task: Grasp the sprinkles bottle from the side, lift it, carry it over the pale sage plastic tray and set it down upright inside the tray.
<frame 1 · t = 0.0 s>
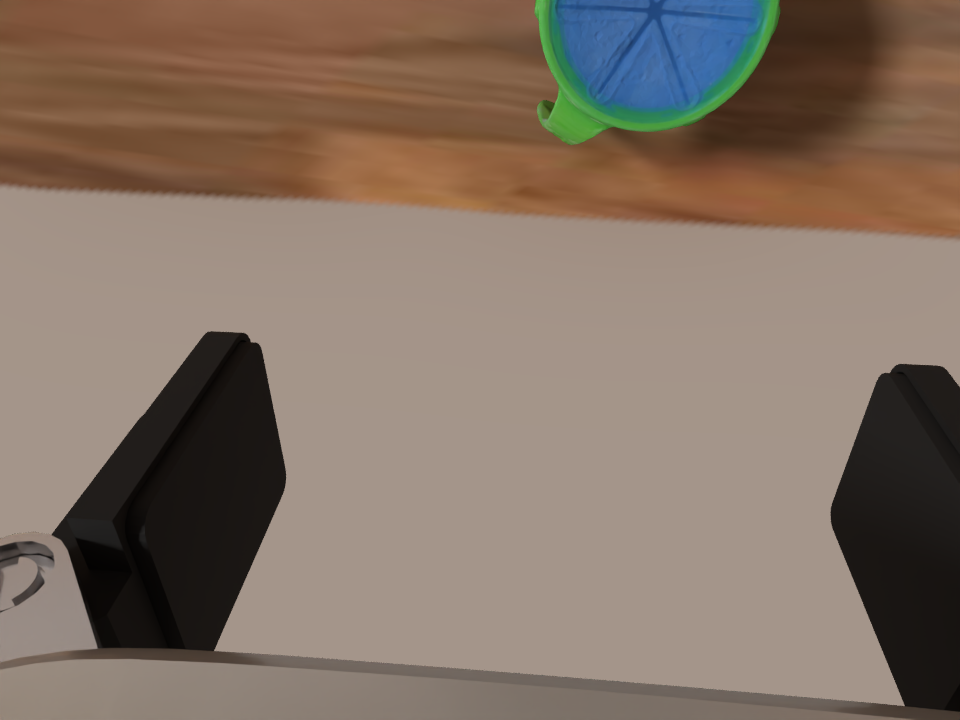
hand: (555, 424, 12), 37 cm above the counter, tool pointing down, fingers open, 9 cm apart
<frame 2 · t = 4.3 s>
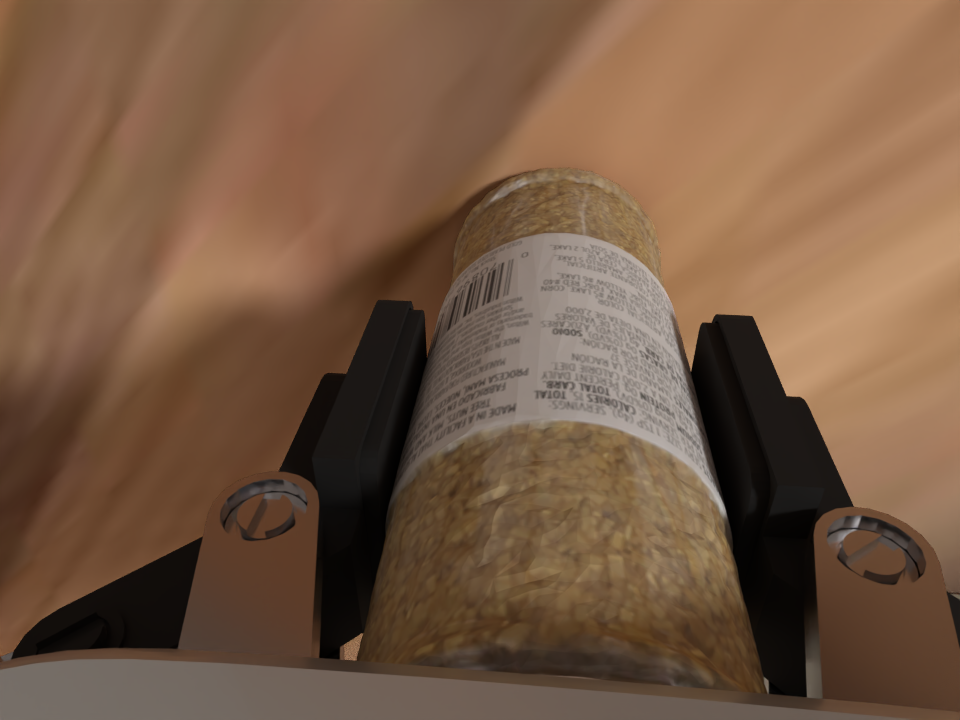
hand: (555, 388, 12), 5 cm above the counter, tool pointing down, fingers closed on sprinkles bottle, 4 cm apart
sprinkles bottle: (556, 254, 16), on the counter, touching gripper
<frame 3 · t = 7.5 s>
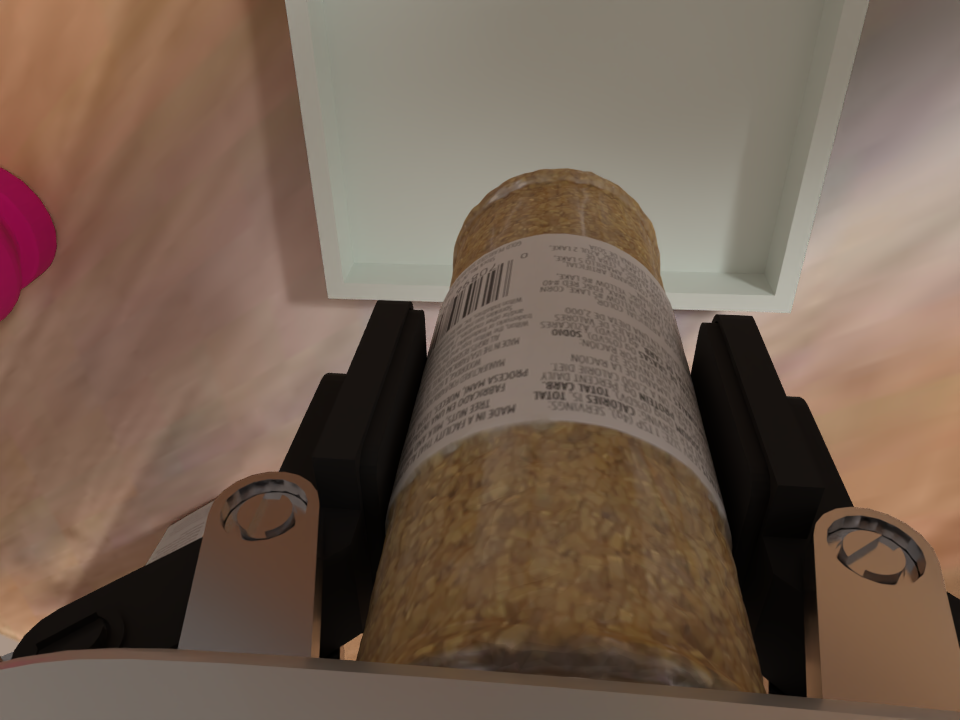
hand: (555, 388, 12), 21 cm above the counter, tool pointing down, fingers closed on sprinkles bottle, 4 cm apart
tray: (562, 98, 30), on the counter
sprinkles bottle: (556, 255, 17), point 16 cm above the counter, touching gripper
small box: (243, 543, 47), on the counter
when the fingers open (7 cm above the counter, at t = 10.6 s): sprinkles bottle drops 1 cm, resting on tray.
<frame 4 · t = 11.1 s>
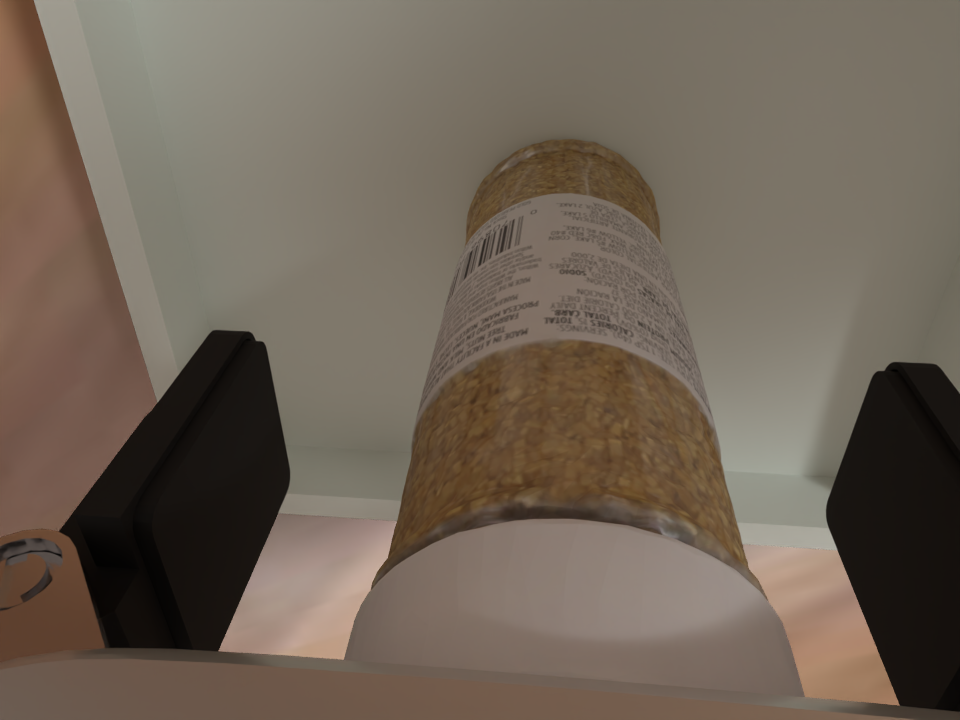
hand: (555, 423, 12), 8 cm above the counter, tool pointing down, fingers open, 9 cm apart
tray: (557, 214, 18), on the counter
sprinkles bottle: (562, 223, 18), point 1 cm above the counter, touching tray
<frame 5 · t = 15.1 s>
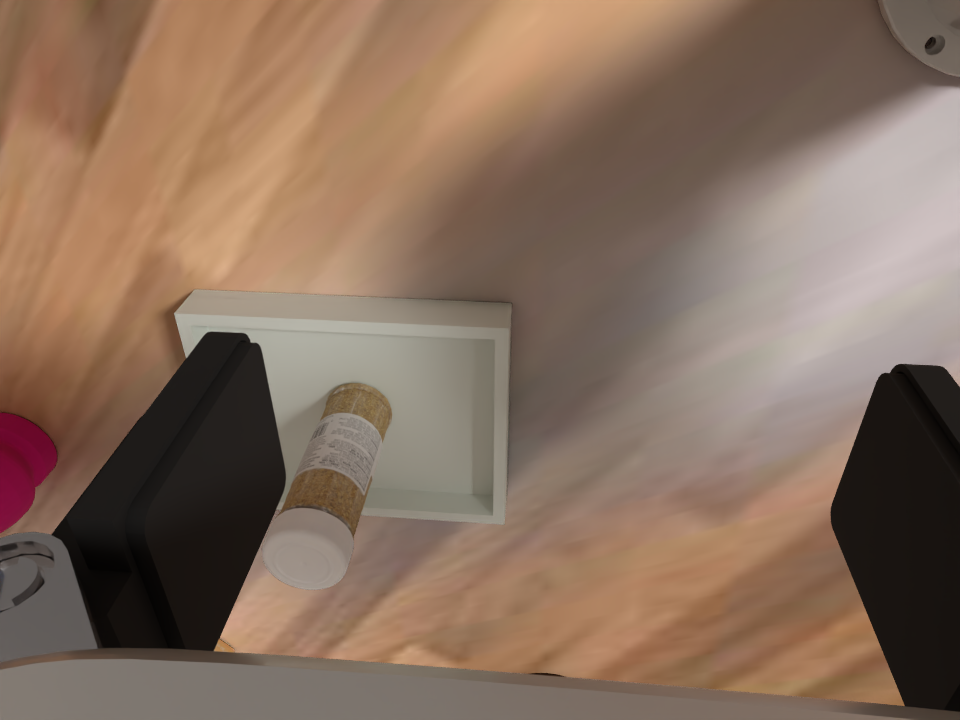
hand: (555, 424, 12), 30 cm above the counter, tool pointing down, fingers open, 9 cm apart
pepper mill: (18, 442, 56), on the counter
tray: (362, 399, 50), on the counter
sprinkles bottle: (361, 405, 50), point 1 cm above the counter, touching tray
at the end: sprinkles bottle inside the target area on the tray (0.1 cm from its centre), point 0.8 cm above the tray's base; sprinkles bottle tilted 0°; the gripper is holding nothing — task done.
